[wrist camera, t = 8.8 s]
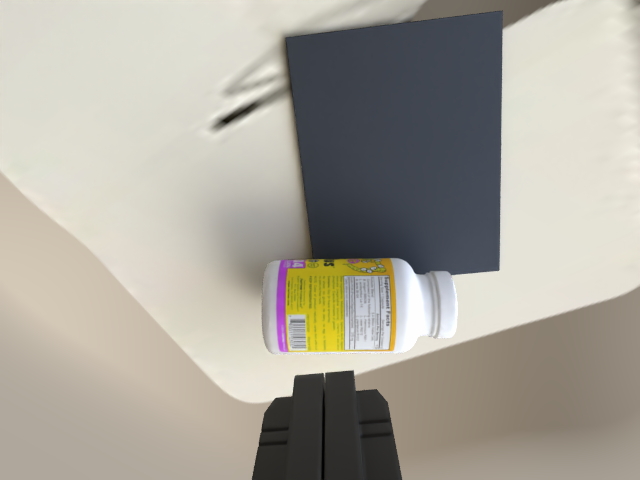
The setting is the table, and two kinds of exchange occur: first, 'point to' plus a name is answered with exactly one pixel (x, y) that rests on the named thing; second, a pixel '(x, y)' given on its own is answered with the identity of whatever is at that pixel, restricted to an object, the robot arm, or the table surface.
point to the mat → (403, 141)
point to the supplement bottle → (353, 306)
